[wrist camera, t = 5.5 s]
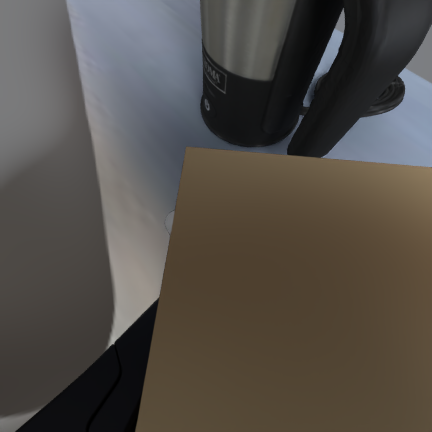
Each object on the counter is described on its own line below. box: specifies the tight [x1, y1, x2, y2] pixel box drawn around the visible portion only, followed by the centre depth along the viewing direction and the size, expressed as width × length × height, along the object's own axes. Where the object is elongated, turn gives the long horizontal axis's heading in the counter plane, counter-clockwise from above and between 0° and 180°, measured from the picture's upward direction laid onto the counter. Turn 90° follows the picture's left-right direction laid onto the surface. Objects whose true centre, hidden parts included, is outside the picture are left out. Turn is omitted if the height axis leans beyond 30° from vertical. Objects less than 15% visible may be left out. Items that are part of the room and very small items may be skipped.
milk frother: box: [200, 0, 432, 158], centre depth 15 cm, size 14×16×15 cm
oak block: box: [136, 147, 432, 432], centre depth 8 cm, size 6×4×12 cm
